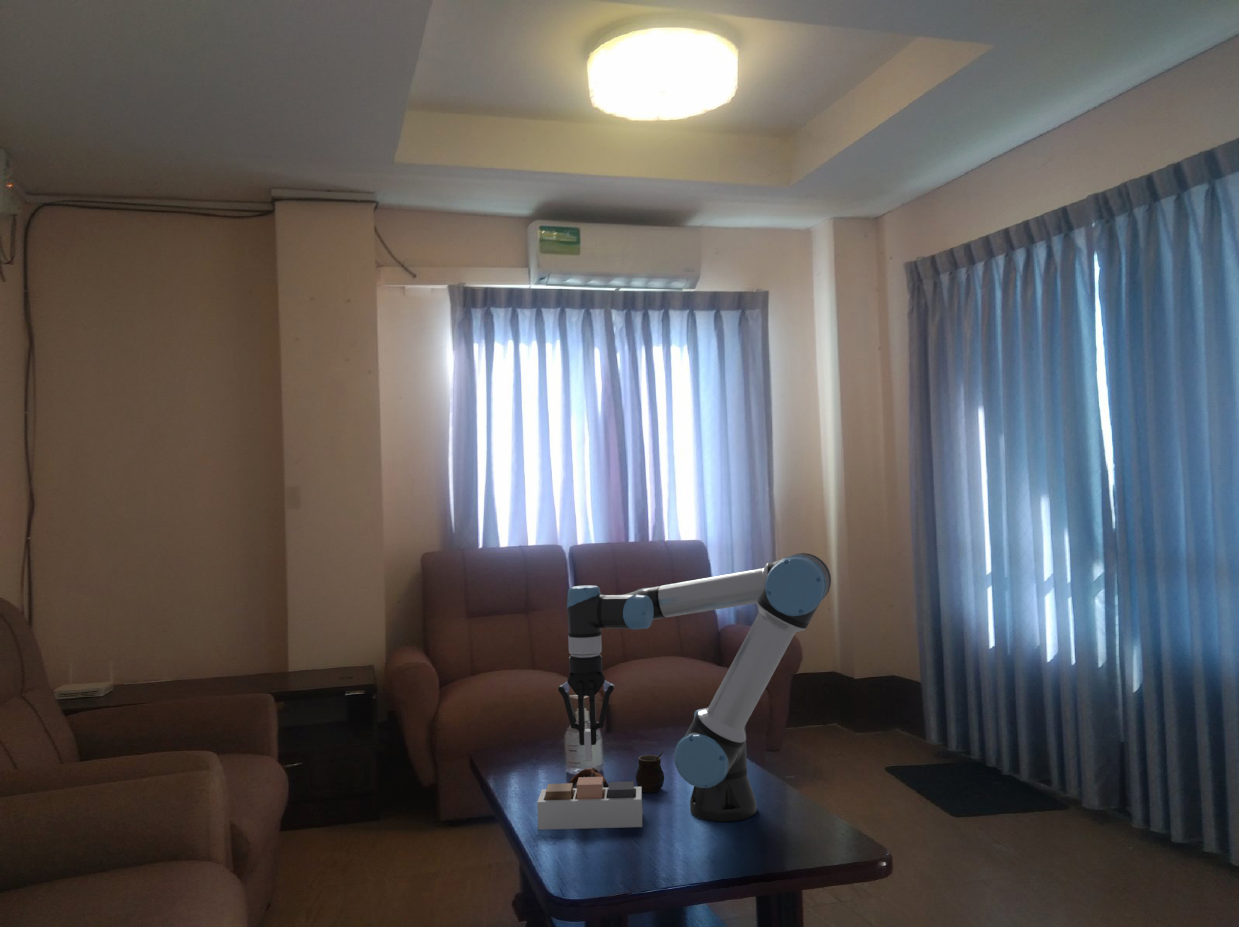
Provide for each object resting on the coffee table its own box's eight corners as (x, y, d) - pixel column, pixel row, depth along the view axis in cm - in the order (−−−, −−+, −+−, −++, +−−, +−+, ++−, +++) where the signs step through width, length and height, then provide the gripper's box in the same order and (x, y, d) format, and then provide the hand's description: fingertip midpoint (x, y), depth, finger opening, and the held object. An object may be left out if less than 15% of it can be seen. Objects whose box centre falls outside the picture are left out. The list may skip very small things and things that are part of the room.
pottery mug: (614, 807, 216) (596, 779, 215) (579, 824, 217) (562, 797, 216) (615, 779, 228) (599, 752, 227) (583, 795, 229) (566, 769, 228)
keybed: (642, 812, 210) (641, 786, 210) (642, 826, 201) (641, 799, 201) (542, 815, 210) (542, 789, 211) (538, 829, 201) (537, 802, 202)
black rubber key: (634, 803, 208) (633, 781, 208) (634, 812, 203) (633, 789, 203) (610, 804, 208) (609, 782, 209) (609, 812, 203) (608, 789, 203)
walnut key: (573, 805, 209) (572, 783, 209) (571, 813, 203) (570, 791, 203) (549, 806, 209) (548, 783, 209) (546, 814, 203) (545, 791, 203)
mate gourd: (640, 784, 231) (639, 744, 231) (669, 787, 228) (668, 746, 229) (631, 793, 224) (630, 752, 224) (661, 796, 222) (660, 754, 222)
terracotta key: (603, 798, 208) (602, 776, 209) (602, 807, 203) (601, 784, 203) (579, 799, 209) (578, 777, 209) (577, 807, 203) (576, 785, 203)
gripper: (614, 650, 211) (617, 754, 210) (558, 652, 211) (561, 755, 210) (613, 656, 203) (616, 763, 202) (555, 657, 204) (558, 764, 203)
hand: (588, 759), depth 206 cm, fingers closed
